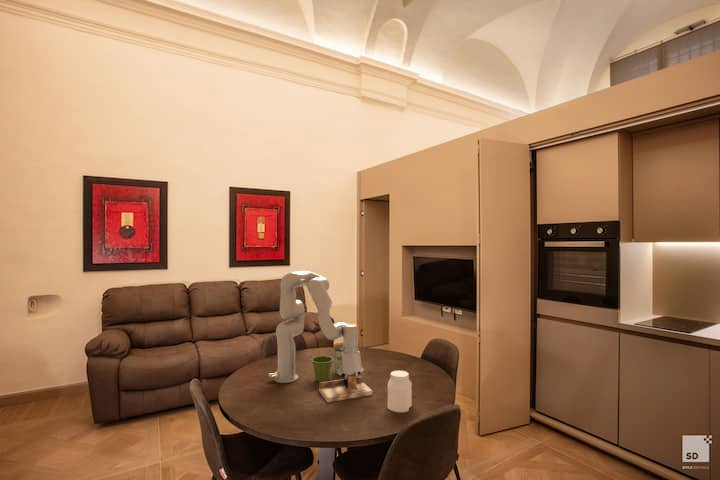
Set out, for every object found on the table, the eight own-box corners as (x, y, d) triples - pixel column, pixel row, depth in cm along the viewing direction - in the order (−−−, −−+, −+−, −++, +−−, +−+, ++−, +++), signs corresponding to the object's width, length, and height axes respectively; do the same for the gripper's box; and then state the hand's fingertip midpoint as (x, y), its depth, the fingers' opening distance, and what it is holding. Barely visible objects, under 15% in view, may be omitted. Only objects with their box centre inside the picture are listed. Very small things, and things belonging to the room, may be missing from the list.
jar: (393, 400, 174) (393, 368, 175) (413, 403, 171) (412, 370, 171) (385, 410, 164) (385, 376, 164) (406, 413, 160) (406, 379, 160)
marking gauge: (352, 392, 178) (352, 380, 178) (344, 384, 188) (344, 373, 188) (360, 391, 179) (360, 379, 179) (352, 383, 190) (352, 372, 190)
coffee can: (352, 368, 219) (352, 344, 219) (351, 374, 209) (351, 349, 209) (335, 368, 219) (335, 344, 220) (333, 374, 209) (333, 349, 209)
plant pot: (307, 381, 199) (307, 360, 199) (319, 374, 209) (319, 354, 209) (325, 385, 193) (325, 363, 193) (337, 378, 204) (337, 357, 204)
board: (327, 402, 172) (327, 392, 172) (319, 391, 185) (319, 382, 185) (372, 394, 181) (372, 385, 181) (361, 384, 194) (361, 376, 194)
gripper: (337, 352, 180) (337, 390, 179) (368, 349, 186) (368, 385, 186) (332, 348, 187) (332, 385, 186) (363, 345, 193) (363, 380, 193)
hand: (350, 385), depth 186 cm, fingers closed on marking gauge, 4 cm apart
